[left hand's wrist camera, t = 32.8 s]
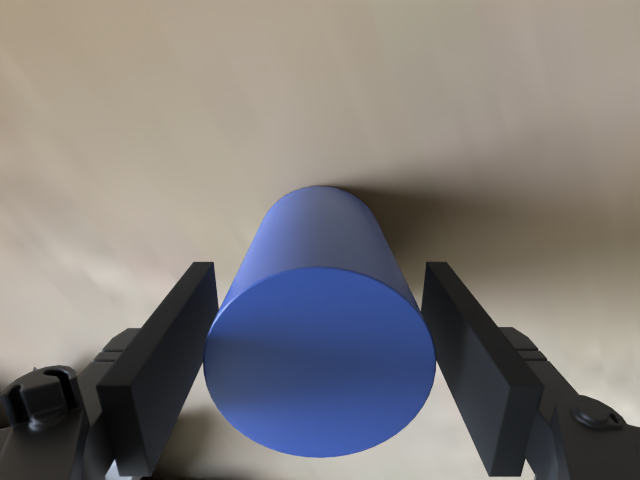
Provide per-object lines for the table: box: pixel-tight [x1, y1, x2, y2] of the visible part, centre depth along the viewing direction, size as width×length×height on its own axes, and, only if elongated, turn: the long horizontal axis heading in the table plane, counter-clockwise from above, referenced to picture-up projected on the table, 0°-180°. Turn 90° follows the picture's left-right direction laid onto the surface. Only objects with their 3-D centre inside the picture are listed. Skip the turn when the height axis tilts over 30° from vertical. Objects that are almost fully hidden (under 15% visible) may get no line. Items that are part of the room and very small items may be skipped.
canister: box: [203, 186, 436, 458], centre depth 14 cm, size 6×6×9 cm
